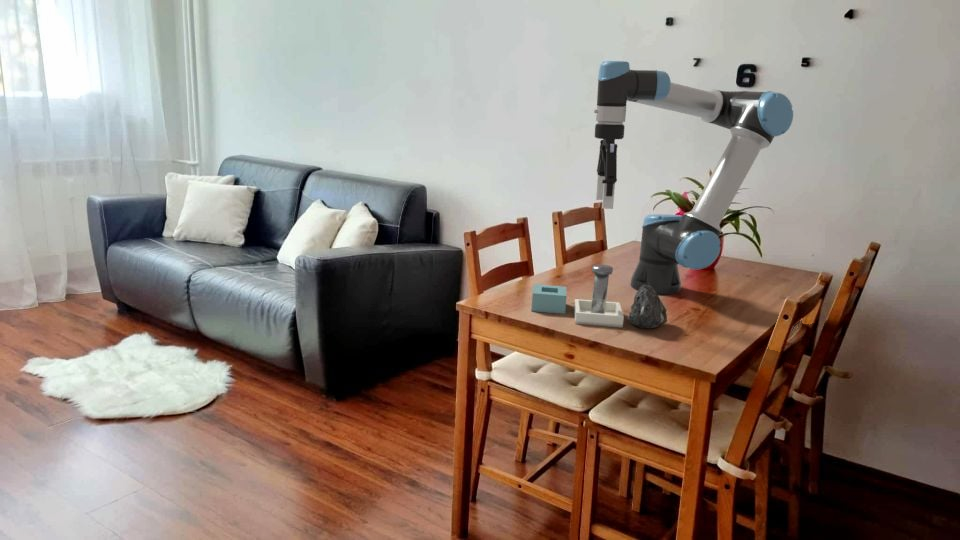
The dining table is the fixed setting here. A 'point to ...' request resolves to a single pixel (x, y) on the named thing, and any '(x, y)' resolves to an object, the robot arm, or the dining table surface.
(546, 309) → the socket block
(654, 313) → the rock
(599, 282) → the pin
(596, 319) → the tray
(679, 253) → the robot arm
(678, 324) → the dining table surface
